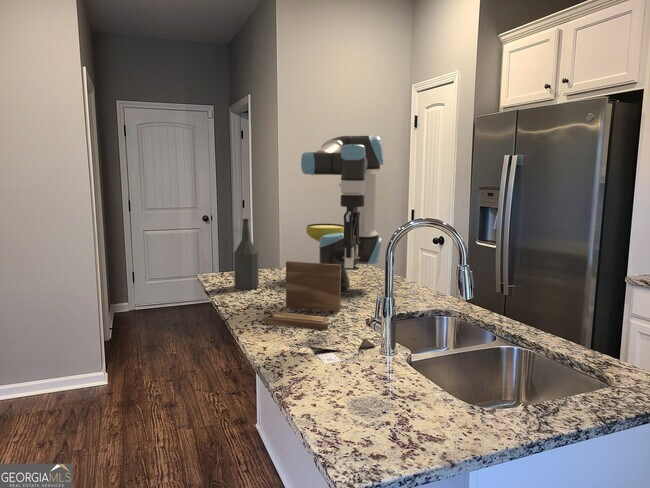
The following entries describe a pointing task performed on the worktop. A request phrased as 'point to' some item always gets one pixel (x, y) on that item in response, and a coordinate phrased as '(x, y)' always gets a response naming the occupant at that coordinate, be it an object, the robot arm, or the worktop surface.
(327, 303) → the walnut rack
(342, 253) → the robot arm
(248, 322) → the worktop surface
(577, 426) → the worktop surface
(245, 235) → the bottle
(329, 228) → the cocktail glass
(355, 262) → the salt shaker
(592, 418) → the worktop surface
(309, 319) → the upper offcut
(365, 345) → the chocolate bar
